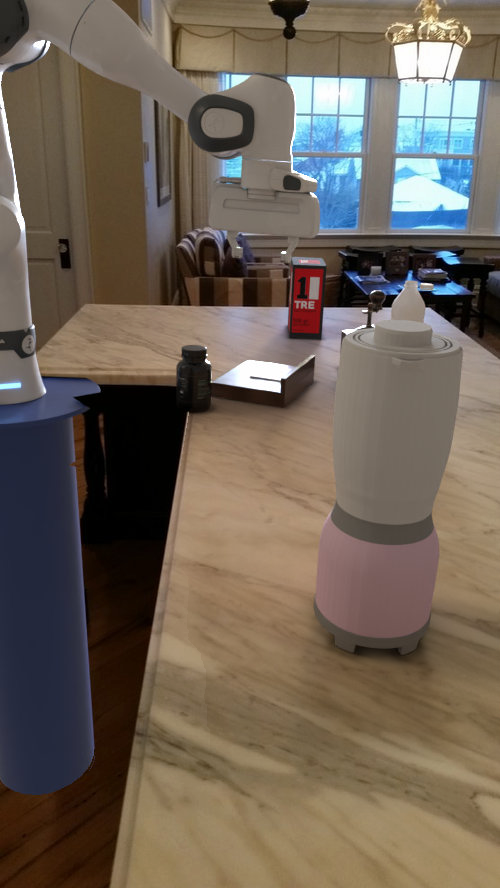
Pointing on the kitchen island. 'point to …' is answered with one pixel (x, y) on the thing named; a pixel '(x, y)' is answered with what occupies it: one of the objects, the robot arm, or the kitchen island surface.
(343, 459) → the blender
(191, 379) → the supplement bottle
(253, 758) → the kitchen island surface
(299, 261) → the cleaning product box
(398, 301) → the water bottle
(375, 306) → the coffee grinder
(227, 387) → the shelf
